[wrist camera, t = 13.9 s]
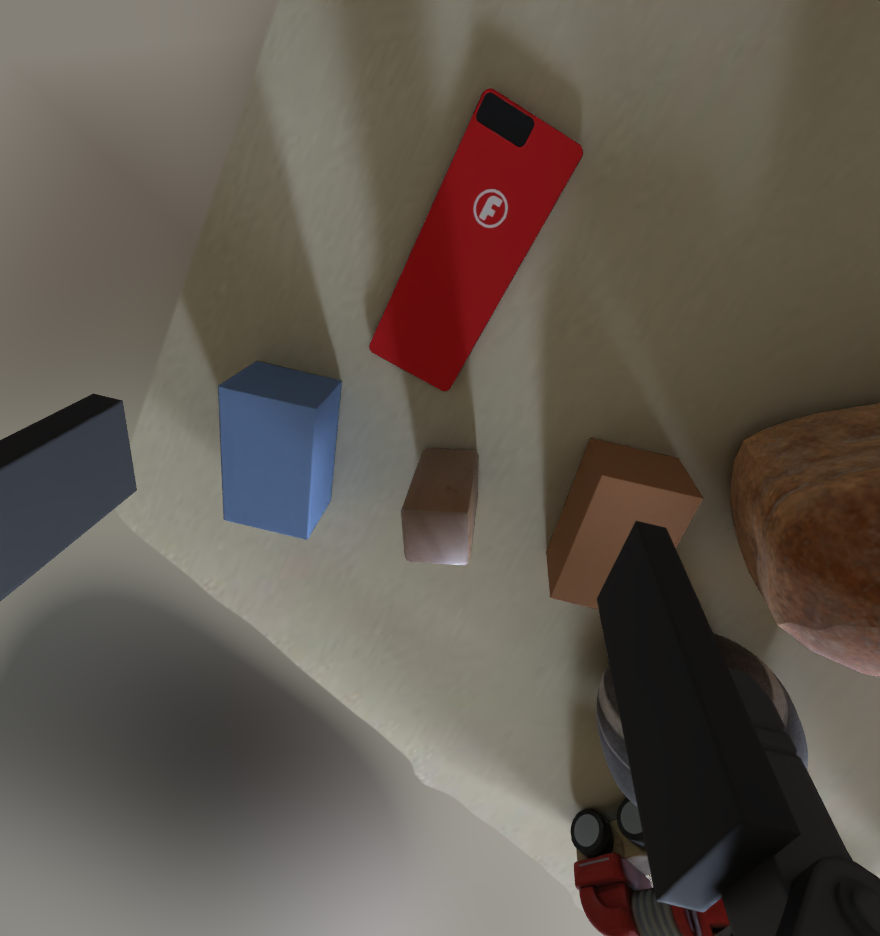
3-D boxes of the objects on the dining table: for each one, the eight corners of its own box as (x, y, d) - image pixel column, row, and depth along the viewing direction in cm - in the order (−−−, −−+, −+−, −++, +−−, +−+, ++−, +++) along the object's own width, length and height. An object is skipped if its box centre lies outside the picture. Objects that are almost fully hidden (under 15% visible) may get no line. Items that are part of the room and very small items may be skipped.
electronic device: (448, 391, 32) (585, 149, 25) (446, 394, 32) (587, 148, 25) (368, 347, 32) (486, 85, 24) (366, 350, 31) (486, 83, 24)
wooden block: (479, 447, 34) (469, 512, 27) (478, 496, 36) (469, 568, 29) (422, 445, 35) (399, 508, 28) (424, 493, 37) (403, 564, 30)
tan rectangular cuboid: (545, 551, 38) (550, 598, 33) (590, 437, 33) (601, 474, 28) (622, 570, 38) (636, 618, 33) (678, 457, 33) (704, 498, 28)
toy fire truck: (562, 814, 55) (579, 1054, 39) (695, 775, 48) (778, 1045, 33) (618, 861, 58) (655, 1100, 43) (750, 831, 52) (849, 1100, 36)
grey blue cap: (561, 615, 41) (574, 729, 32) (754, 578, 36) (828, 698, 28) (617, 754, 48) (640, 876, 40) (781, 737, 44) (846, 870, 35)
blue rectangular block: (256, 483, 38) (223, 520, 34) (256, 360, 33) (217, 385, 29) (331, 501, 38) (307, 540, 34) (342, 380, 33) (316, 408, 29)
